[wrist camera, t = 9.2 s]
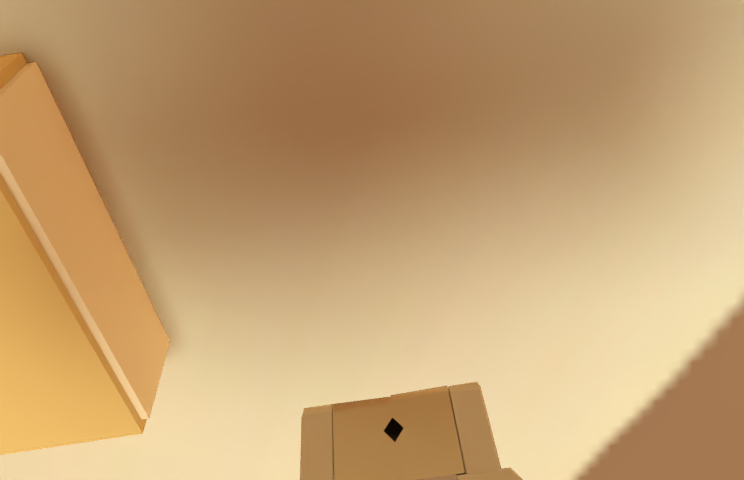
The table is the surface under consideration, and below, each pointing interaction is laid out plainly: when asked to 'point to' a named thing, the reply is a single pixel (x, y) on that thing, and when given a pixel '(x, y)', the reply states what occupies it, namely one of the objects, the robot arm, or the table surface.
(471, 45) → the table surface
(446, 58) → the table surface
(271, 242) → the table surface
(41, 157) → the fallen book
